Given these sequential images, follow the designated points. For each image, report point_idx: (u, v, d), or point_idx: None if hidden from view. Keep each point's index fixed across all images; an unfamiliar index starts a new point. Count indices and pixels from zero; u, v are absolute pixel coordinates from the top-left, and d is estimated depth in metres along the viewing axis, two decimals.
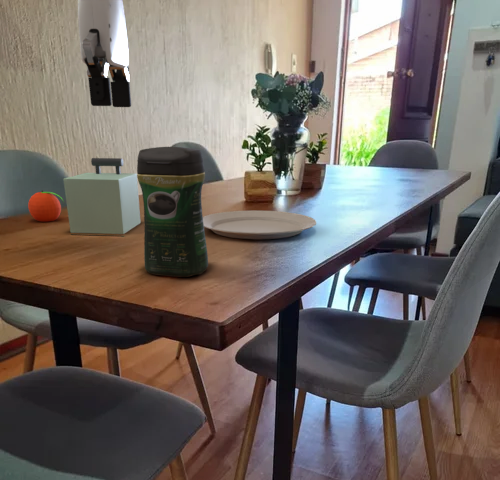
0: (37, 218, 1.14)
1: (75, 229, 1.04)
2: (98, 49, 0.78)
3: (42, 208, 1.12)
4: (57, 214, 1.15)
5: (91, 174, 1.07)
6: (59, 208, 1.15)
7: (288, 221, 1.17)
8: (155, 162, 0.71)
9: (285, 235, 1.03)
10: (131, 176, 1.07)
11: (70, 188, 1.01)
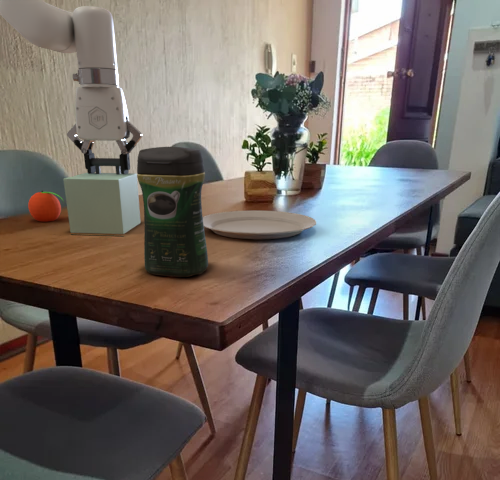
0: (37, 218, 1.14)
1: (75, 229, 1.04)
2: None
3: (42, 208, 1.12)
4: (57, 214, 1.15)
5: (91, 174, 1.07)
6: (59, 208, 1.15)
7: (288, 221, 1.17)
8: (155, 162, 0.71)
9: (285, 235, 1.03)
10: (131, 176, 1.07)
11: (70, 188, 1.01)
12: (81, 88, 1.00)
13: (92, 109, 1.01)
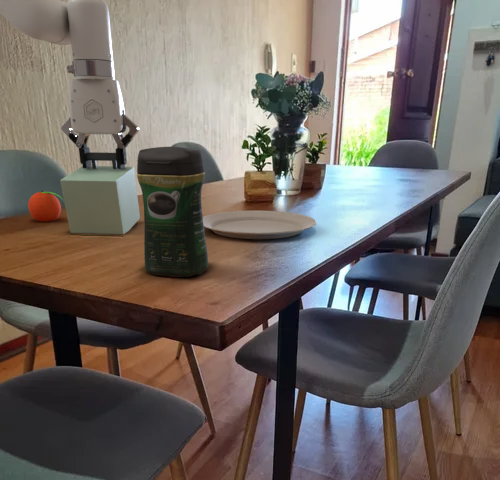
0: (37, 218, 1.14)
1: (75, 229, 1.04)
2: None
3: (42, 208, 1.12)
4: (57, 214, 1.15)
5: (87, 170, 1.06)
6: (59, 208, 1.15)
7: (288, 221, 1.17)
8: (155, 162, 0.71)
9: (285, 235, 1.03)
10: (128, 172, 1.05)
11: (67, 189, 0.99)
12: (76, 80, 0.98)
13: (87, 102, 0.99)
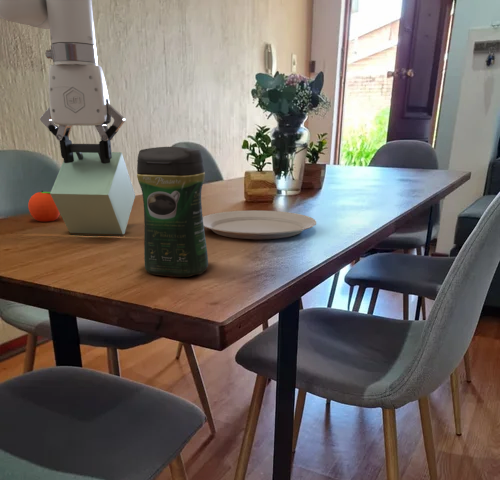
0: (37, 218, 1.14)
1: (74, 231, 1.03)
2: None
3: (42, 208, 1.12)
4: (57, 214, 1.15)
5: (74, 163, 0.99)
6: None
7: (288, 221, 1.17)
8: (155, 162, 0.71)
9: (285, 235, 1.03)
10: (118, 166, 0.98)
11: (59, 201, 0.96)
12: (55, 66, 0.89)
13: (68, 90, 0.90)
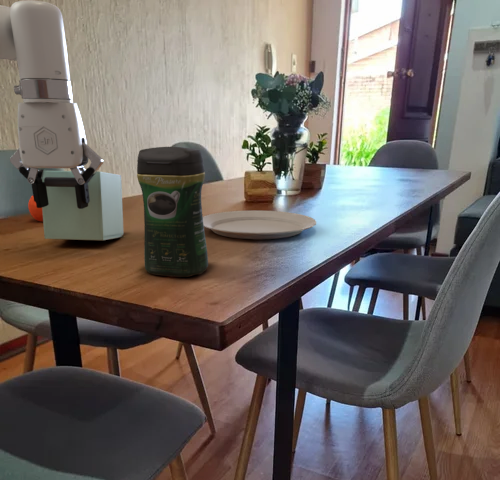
0: (37, 218, 1.14)
1: None
2: None
3: None
4: None
5: (53, 191, 0.91)
6: None
7: (288, 221, 1.17)
8: (155, 162, 0.71)
9: (285, 235, 1.03)
10: (101, 194, 0.91)
11: None
12: (24, 104, 0.80)
13: (38, 130, 0.81)
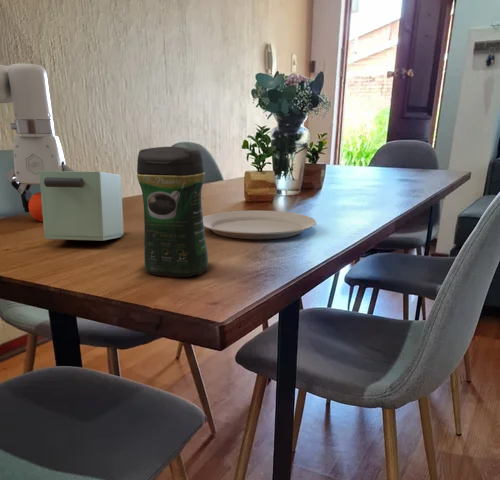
0: (37, 218, 1.14)
1: None
2: None
3: None
4: None
5: (53, 191, 0.91)
6: None
7: (288, 221, 1.17)
8: (155, 162, 0.71)
9: (285, 235, 1.03)
10: (101, 194, 0.91)
11: None
12: (18, 137, 1.07)
13: (29, 156, 1.08)
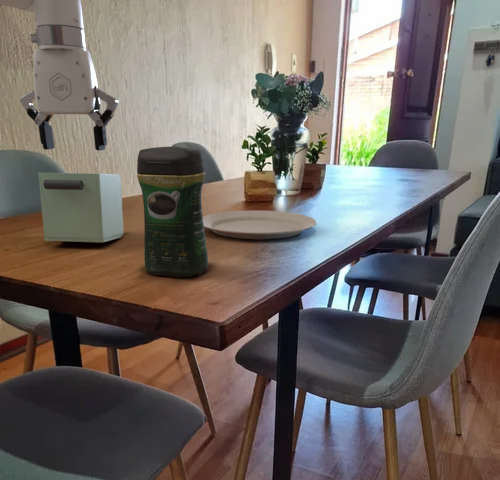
0: None
1: None
2: None
3: None
4: None
5: (53, 193, 0.91)
6: None
7: (288, 221, 1.17)
8: (155, 162, 0.71)
9: (285, 235, 1.03)
10: (101, 196, 0.91)
11: None
12: (40, 50, 0.84)
13: (53, 76, 0.85)
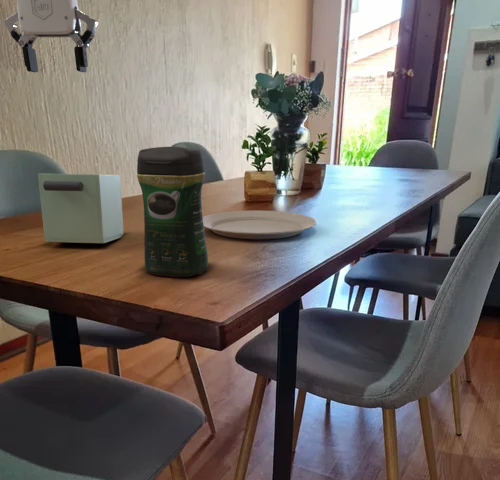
0: None
1: None
2: None
3: None
4: None
5: (52, 194, 0.91)
6: None
7: (288, 221, 1.17)
8: (155, 162, 0.71)
9: (285, 235, 1.03)
10: (100, 197, 0.91)
11: None
12: None
13: None
